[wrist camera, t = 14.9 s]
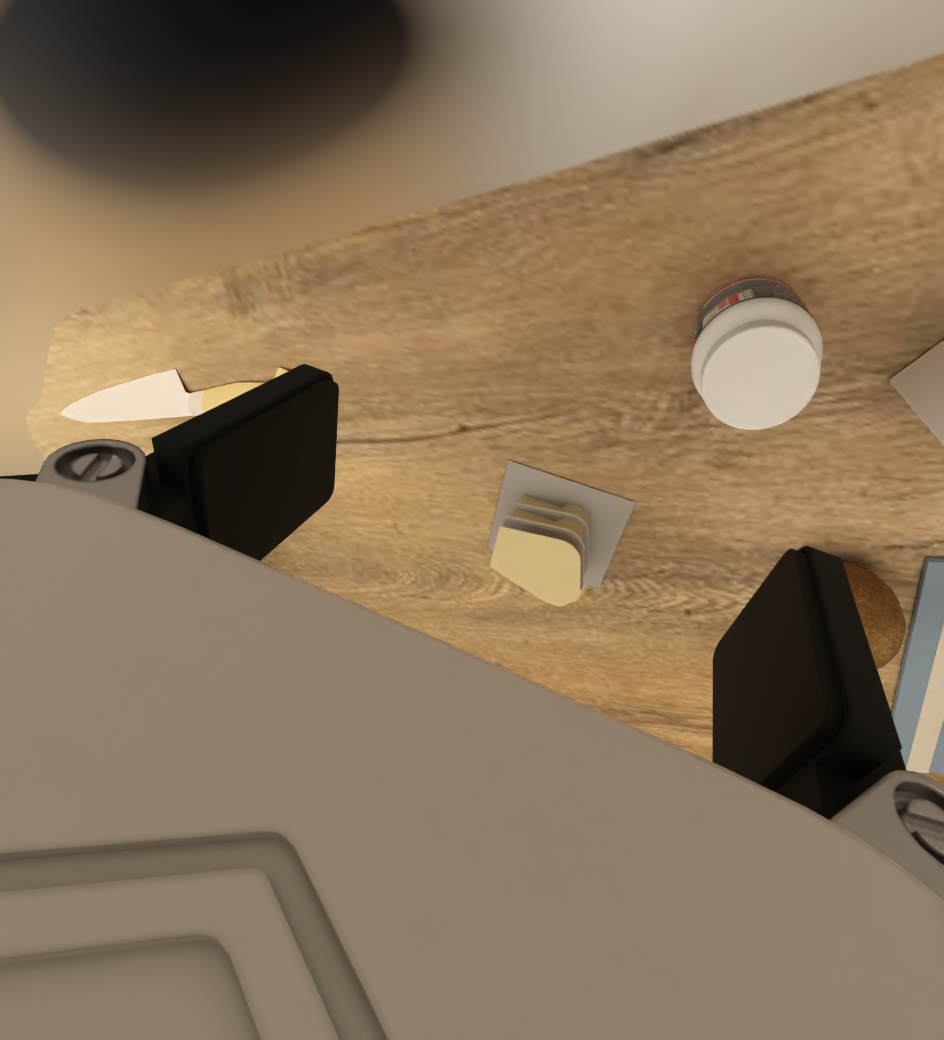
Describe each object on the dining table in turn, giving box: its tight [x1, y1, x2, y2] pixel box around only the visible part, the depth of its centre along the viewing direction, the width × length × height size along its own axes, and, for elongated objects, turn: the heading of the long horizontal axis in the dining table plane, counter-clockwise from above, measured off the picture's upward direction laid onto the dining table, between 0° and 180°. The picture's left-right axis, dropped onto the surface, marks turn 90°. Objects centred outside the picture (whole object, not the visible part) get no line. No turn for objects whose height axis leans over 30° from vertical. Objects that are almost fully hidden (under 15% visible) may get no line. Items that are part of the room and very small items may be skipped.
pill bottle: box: [691, 275, 823, 430], centre depth 27 cm, size 6×6×10 cm
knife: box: [60, 368, 288, 422], centre depth 50 cm, size 1×33×4 cm
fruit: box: [843, 563, 906, 669], centre depth 34 cm, size 6×6×8 cm
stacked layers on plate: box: [487, 460, 636, 607], centre depth 41 cm, size 10×9×6 cm
